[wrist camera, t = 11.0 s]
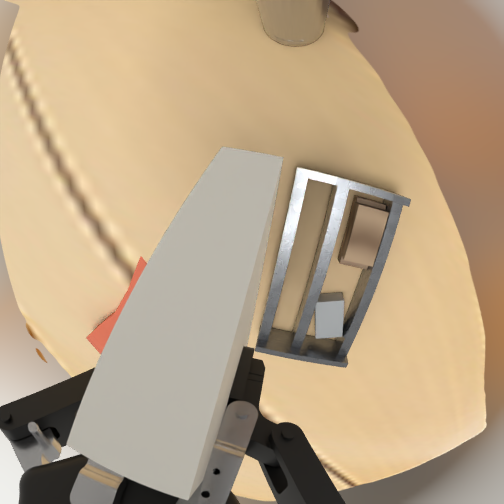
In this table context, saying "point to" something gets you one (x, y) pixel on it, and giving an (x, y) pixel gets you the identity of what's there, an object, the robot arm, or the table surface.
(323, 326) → the offcut
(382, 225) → the offcut
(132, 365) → the white flat board
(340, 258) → the offcut
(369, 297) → the rack
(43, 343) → the table surface
